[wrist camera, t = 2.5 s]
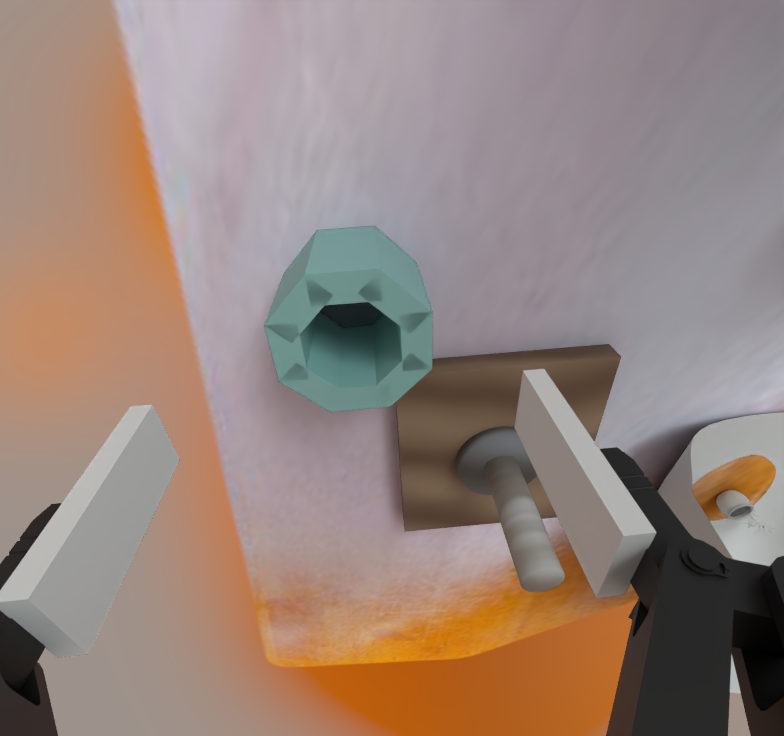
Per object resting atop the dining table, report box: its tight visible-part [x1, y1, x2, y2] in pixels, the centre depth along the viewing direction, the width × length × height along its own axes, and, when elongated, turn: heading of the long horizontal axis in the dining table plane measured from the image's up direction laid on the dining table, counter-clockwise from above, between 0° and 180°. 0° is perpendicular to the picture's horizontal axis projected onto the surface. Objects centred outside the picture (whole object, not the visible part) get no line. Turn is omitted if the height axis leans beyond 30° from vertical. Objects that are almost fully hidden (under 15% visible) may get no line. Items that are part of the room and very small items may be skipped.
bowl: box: [657, 412, 784, 693], centre depth 32 cm, size 20×19×12 cm
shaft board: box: [396, 344, 621, 592], centre depth 27 cm, size 16×14×10 cm
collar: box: [264, 226, 432, 412], centre depth 21 cm, size 7×7×6 cm
